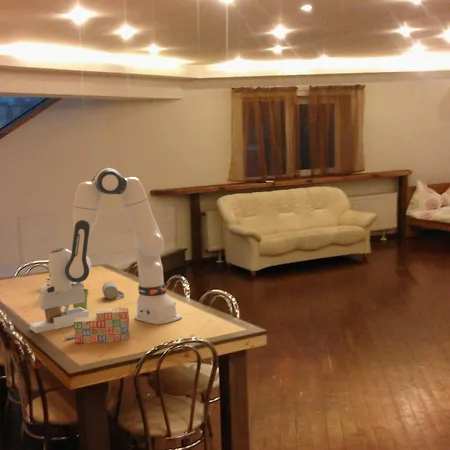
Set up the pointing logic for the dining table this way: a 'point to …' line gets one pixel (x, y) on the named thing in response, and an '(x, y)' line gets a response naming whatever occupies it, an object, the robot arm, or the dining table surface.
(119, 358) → the dining table surface
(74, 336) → the steel rod
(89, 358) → the dining table surface
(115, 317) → the stack of blocks
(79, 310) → the channel
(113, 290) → the ceramic mug
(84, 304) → the plant pot
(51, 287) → the robot arm
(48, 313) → the walnut block
